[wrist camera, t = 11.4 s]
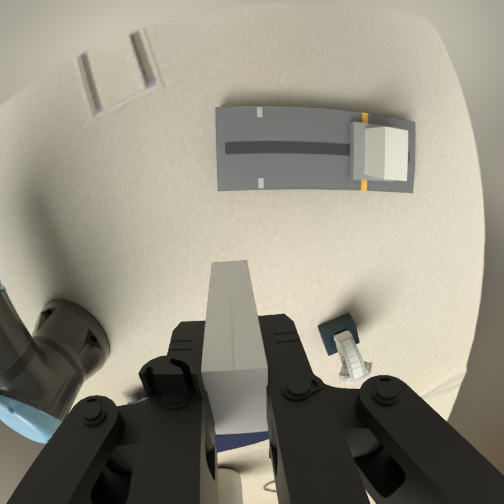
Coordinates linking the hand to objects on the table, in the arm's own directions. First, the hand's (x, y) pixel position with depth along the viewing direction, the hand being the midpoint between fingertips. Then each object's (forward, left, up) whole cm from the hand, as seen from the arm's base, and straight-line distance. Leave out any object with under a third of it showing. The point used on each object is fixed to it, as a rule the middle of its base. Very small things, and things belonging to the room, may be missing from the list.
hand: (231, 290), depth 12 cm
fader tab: (+12, +14, -22) cm, 28 cm away
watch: (+24, -11, -25) cm, 37 cm away
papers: (+15, -43, -25) cm, 52 cm away
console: (+6, +11, -25) cm, 28 cm away
